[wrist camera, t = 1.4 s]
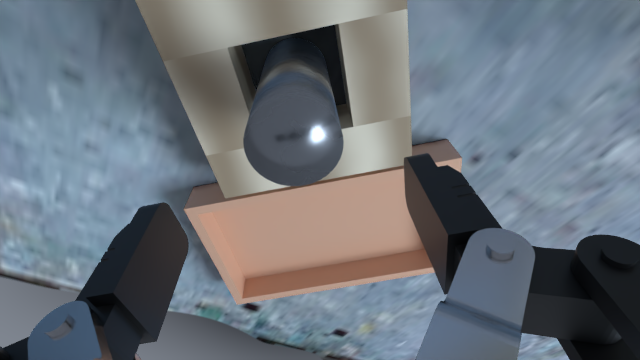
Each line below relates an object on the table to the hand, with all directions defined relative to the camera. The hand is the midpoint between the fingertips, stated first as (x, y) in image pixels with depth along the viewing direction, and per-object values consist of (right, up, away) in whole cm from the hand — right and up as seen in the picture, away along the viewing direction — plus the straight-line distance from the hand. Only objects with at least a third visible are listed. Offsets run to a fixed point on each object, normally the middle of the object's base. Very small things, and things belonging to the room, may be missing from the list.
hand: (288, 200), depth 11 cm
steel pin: (-1, +9, +12) cm, 15 cm away
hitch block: (-1, +9, +12) cm, 15 cm away
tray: (+2, -3, +21) cm, 21 cm away
